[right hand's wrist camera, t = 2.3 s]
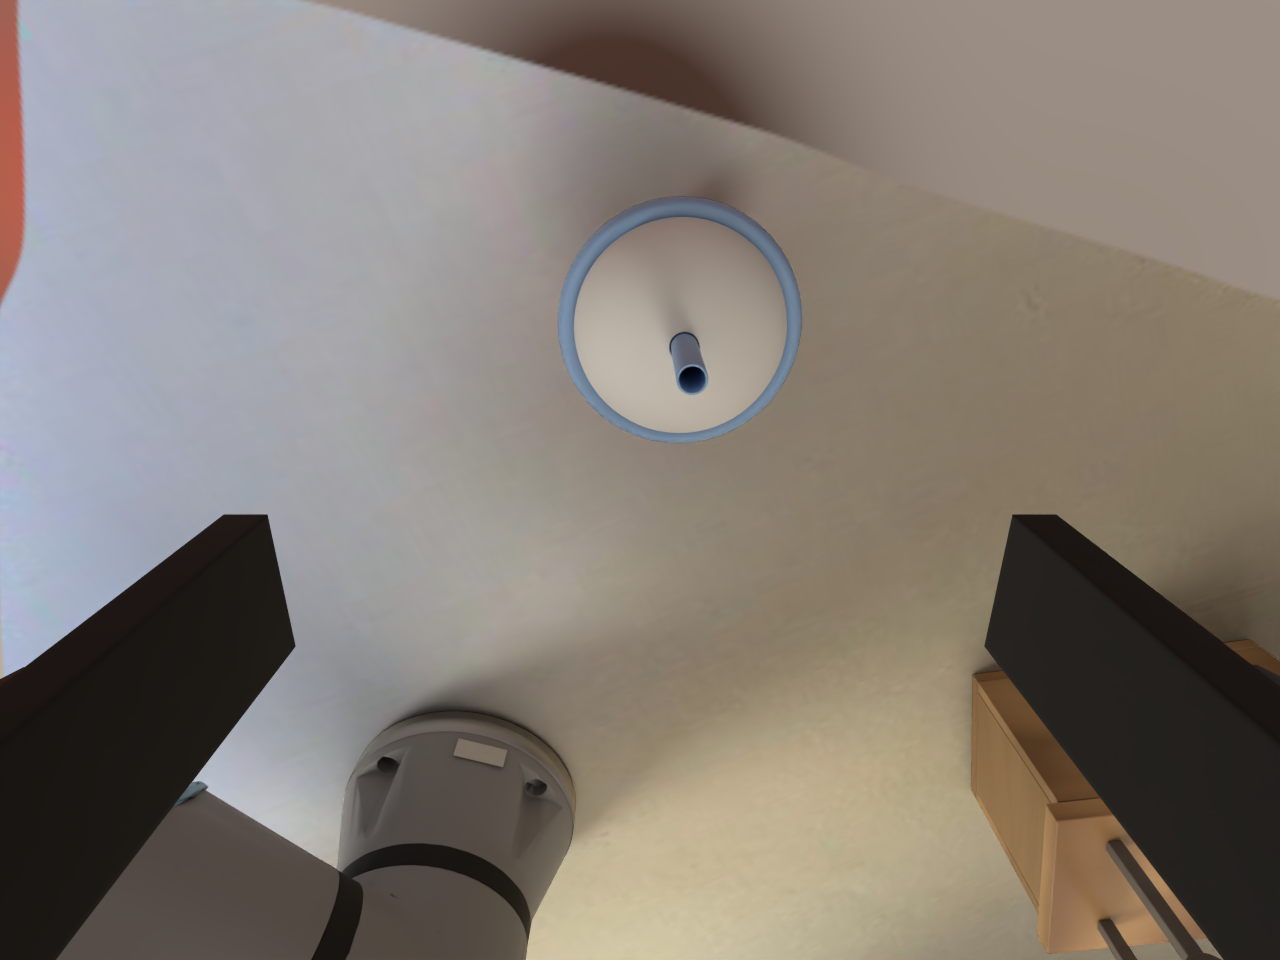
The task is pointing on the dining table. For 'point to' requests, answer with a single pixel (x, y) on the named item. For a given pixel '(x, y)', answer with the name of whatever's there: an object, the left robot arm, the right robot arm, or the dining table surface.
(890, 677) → the dining table surface
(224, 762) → the dining table surface
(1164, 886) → the lid
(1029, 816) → the chest
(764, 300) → the cup with straw
